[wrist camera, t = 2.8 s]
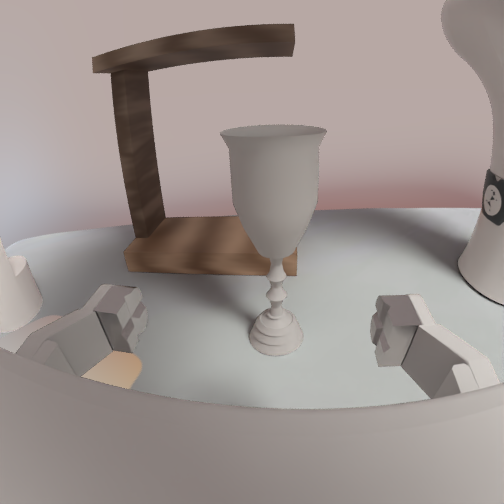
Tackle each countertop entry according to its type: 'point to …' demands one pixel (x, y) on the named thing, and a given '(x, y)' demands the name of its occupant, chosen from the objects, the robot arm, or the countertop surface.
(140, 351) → the countertop surface
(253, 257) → the wooden c-shaped stand
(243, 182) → the chalice
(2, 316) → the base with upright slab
